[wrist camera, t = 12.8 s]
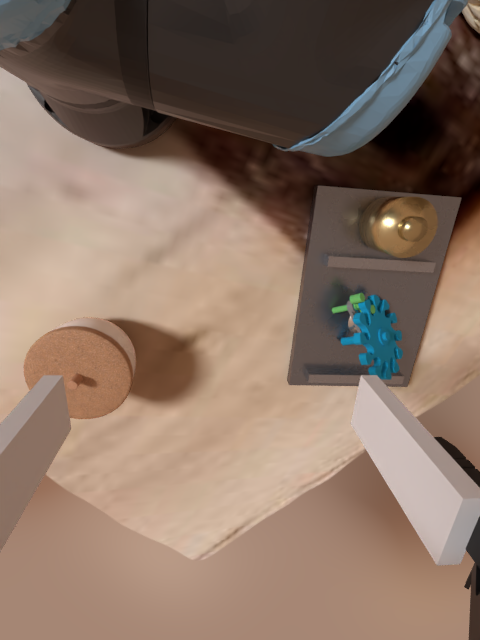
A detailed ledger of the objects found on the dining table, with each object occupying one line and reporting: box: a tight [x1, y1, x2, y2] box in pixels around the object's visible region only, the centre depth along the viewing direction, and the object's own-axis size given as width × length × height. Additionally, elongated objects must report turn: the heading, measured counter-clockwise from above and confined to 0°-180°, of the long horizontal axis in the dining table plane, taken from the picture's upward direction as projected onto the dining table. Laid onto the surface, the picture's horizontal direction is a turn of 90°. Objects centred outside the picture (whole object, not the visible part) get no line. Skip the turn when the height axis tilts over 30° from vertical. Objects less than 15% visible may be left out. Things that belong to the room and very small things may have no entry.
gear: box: [332, 293, 403, 380], centre depth 40 cm, size 11×6×10 cm
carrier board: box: [287, 186, 461, 387], centre depth 39 cm, size 25×17×7 cm
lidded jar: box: [24, 317, 136, 419], centre depth 37 cm, size 11×11×9 cm
